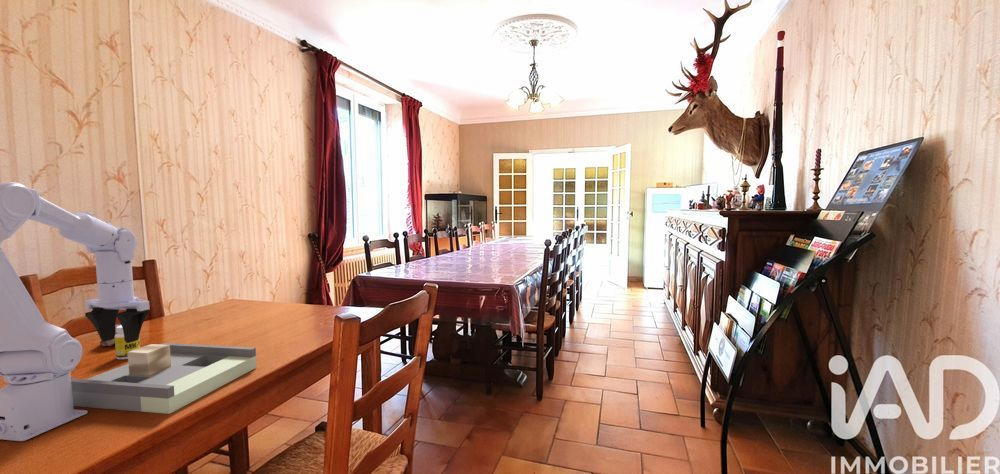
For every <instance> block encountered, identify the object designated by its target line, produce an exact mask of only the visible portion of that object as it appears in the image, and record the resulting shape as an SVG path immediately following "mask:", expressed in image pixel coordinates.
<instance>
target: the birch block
mask: <svg viewBox="0 0 1000 474" xmlns="http://www.w3.org/2000/svg"><path fill="white" fill-rule="evenodd" d="M127 364H129V374H134V375H151V374H154V373H156V372H159V371H161V370H163V369H166V368H168V367H171V356H170V345H159V344H157V343H156V344H154V343H153V344H152V343H149V344H147V345H144V346H140V348H138V349H135V350H132V351H129V352H128V359H127Z"/></svg>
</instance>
